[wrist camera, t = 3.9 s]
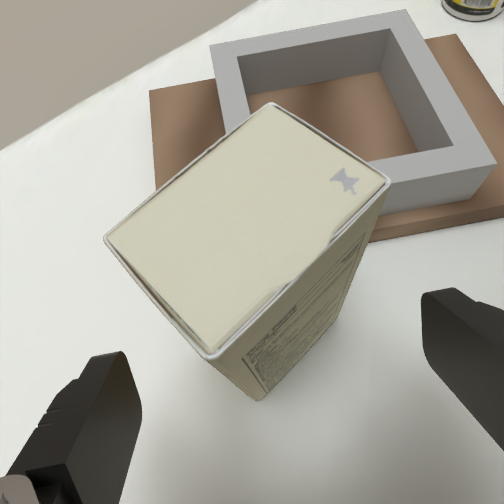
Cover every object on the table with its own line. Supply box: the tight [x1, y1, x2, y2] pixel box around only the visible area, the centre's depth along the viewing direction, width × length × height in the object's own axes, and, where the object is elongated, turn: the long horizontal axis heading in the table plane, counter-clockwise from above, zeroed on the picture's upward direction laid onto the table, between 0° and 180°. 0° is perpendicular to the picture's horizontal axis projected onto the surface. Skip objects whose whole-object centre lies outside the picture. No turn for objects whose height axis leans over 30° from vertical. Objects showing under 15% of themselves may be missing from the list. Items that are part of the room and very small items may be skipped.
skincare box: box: [103, 102, 392, 401], centre depth 15 cm, size 6×4×12 cm
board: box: [149, 34, 504, 243], centre depth 24 cm, size 22×14×2 cm, turn 100°
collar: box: [209, 9, 497, 216], centre depth 22 cm, size 12×12×3 cm
